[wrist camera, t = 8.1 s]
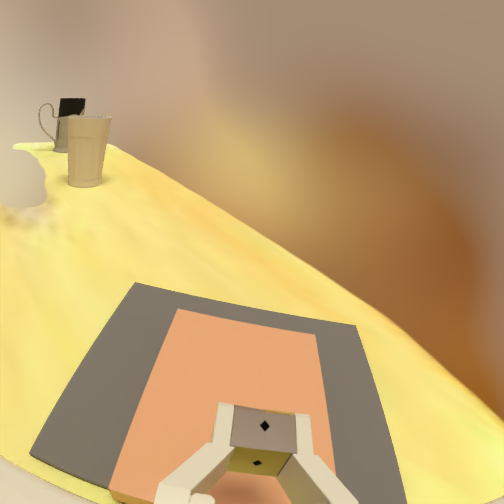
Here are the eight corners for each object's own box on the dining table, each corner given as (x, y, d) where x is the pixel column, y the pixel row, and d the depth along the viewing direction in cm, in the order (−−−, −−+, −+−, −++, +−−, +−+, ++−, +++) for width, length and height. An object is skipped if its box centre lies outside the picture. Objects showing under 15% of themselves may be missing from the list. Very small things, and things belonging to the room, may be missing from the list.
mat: (405, 513, 11) (408, 511, 11) (30, 455, 10) (29, 452, 10) (354, 327, 27) (355, 325, 27) (135, 285, 27) (135, 282, 27)
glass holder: (84, 152, 75) (90, 98, 69) (36, 154, 66) (40, 99, 60) (79, 147, 81) (84, 98, 75) (35, 149, 72) (39, 98, 66)
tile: (340, 520, 10) (315, 334, 22) (108, 488, 9) (177, 308, 22) (326, 529, 10) (308, 351, 23) (113, 499, 10) (176, 326, 23)
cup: (114, 183, 53) (120, 118, 48) (79, 191, 46) (85, 118, 41) (88, 175, 55) (94, 115, 50) (56, 182, 48) (60, 116, 43)
